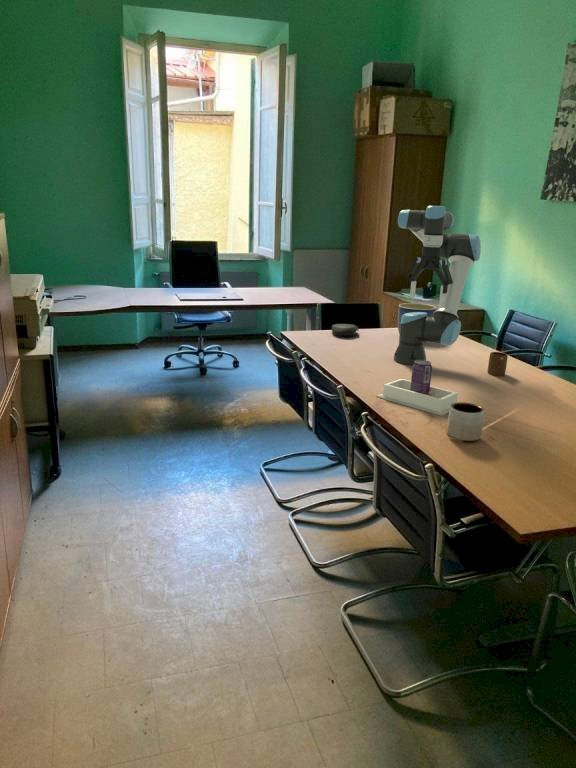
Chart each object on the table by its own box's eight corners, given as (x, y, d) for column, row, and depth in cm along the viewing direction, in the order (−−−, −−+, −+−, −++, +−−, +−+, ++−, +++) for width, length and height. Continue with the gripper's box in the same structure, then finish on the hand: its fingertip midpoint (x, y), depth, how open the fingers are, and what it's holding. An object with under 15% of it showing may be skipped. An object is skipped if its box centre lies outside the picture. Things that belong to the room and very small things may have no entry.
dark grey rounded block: (331, 340, 313) (332, 327, 311) (331, 334, 330) (332, 321, 328) (358, 342, 312) (359, 328, 310) (356, 335, 329) (357, 322, 327)
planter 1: (392, 341, 315) (395, 307, 309) (398, 334, 333) (401, 301, 328) (430, 345, 308) (434, 310, 303) (435, 338, 327) (438, 305, 321)
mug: (509, 379, 250) (513, 358, 247) (492, 378, 251) (495, 357, 248) (502, 372, 262) (505, 352, 259) (485, 371, 262) (488, 351, 259)
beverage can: (430, 391, 219) (433, 360, 215) (428, 396, 212) (431, 365, 209) (411, 388, 221) (414, 358, 217) (408, 394, 214) (411, 363, 211)
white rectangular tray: (376, 397, 221) (377, 384, 219) (399, 388, 232) (400, 376, 231) (441, 416, 203) (443, 402, 201) (463, 406, 214) (464, 393, 212)
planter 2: (441, 429, 191) (444, 401, 188) (473, 429, 192) (476, 402, 189) (453, 442, 180) (457, 413, 177) (486, 441, 181) (490, 413, 178)
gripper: (400, 244, 235) (395, 296, 241) (456, 248, 218) (450, 304, 225) (410, 243, 240) (405, 294, 246) (465, 248, 224) (459, 302, 230)
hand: (426, 299), depth 236 cm, fingers open, 13 cm apart
